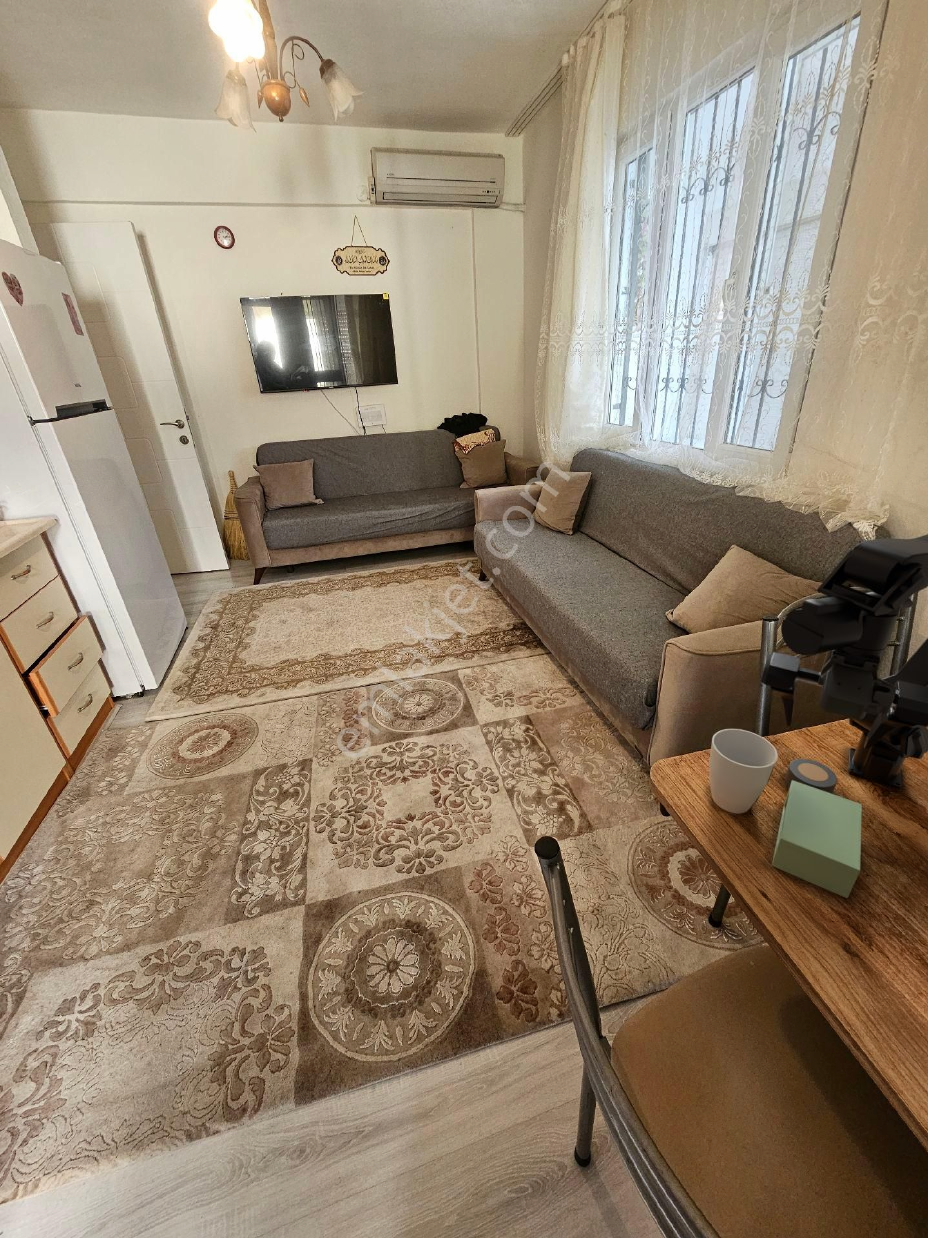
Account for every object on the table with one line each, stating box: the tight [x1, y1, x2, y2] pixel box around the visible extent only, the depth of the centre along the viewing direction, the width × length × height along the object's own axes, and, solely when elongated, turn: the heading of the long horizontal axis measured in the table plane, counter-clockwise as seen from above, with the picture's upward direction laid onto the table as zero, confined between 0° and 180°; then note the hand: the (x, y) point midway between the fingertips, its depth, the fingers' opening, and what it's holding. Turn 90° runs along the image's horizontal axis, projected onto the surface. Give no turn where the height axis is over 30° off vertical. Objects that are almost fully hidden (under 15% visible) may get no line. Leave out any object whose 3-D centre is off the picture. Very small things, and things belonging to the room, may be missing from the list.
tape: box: [784, 758, 838, 795], centre depth 75 cm, size 6×6×3 cm
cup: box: [708, 728, 779, 814], centre depth 72 cm, size 8×8×10 cm
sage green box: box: [771, 780, 863, 899], centre depth 66 cm, size 12×8×5 cm, turn 144°
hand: (826, 735), depth 72 cm, fingers open, 9 cm apart
